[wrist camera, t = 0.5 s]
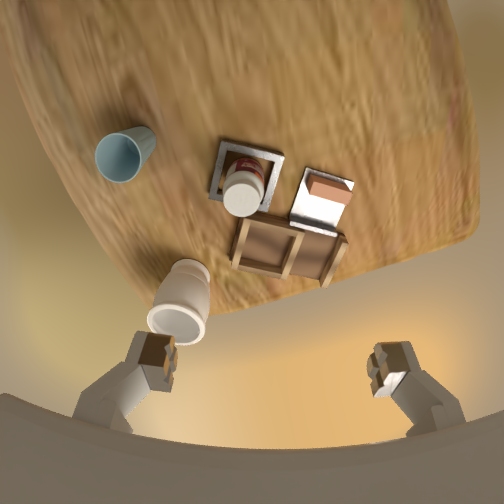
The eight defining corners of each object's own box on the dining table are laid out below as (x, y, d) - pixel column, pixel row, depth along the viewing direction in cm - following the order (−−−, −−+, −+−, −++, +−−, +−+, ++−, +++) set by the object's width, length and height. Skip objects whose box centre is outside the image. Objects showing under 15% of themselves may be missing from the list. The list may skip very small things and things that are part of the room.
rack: (242, 208, 55) (241, 217, 52) (344, 234, 58) (348, 243, 55) (229, 257, 61) (227, 267, 58) (323, 278, 63) (326, 288, 61)
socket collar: (222, 138, 48) (221, 141, 47) (283, 153, 49) (284, 156, 48) (210, 194, 54) (208, 198, 52) (267, 207, 55) (267, 212, 53)
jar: (156, 266, 63) (135, 317, 50) (194, 245, 60) (178, 296, 47) (187, 299, 68) (173, 351, 55) (225, 282, 65) (217, 336, 52)
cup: (142, 110, 45) (117, 122, 37) (171, 142, 49) (151, 160, 40) (114, 139, 48) (86, 157, 39) (141, 169, 51) (118, 192, 43)
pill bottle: (270, 168, 51) (273, 193, 41) (252, 196, 54) (250, 227, 44) (238, 150, 49) (233, 171, 40) (221, 180, 52) (212, 208, 43)
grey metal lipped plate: (305, 166, 51) (308, 172, 48) (353, 181, 52) (357, 187, 49) (288, 218, 56) (289, 225, 54) (333, 229, 57) (336, 237, 55)
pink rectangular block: (310, 174, 50) (313, 181, 48) (347, 185, 51) (352, 193, 48) (306, 186, 52) (309, 194, 49) (342, 197, 53) (347, 205, 50)
